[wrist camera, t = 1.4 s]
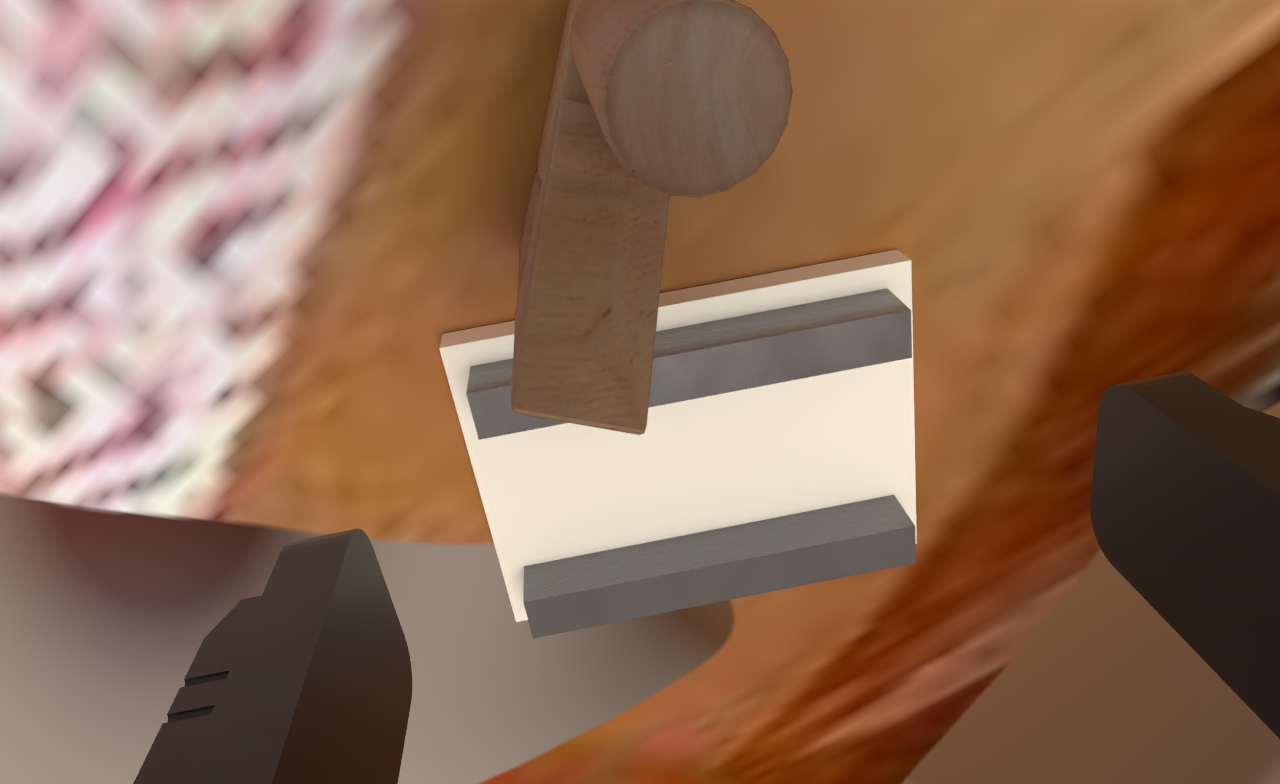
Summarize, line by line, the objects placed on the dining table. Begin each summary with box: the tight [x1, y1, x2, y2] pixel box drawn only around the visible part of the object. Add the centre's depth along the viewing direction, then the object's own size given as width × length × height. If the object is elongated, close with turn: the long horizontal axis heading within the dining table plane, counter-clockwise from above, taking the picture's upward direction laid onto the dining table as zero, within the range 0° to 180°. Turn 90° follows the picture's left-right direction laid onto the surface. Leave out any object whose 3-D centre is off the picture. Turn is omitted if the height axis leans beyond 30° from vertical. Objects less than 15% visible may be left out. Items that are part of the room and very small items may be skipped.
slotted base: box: [439, 249, 917, 638], centre depth 38 cm, size 14×19×4 cm
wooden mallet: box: [511, 0, 792, 435], centre depth 25 cm, size 4×11×18 cm, turn 166°
